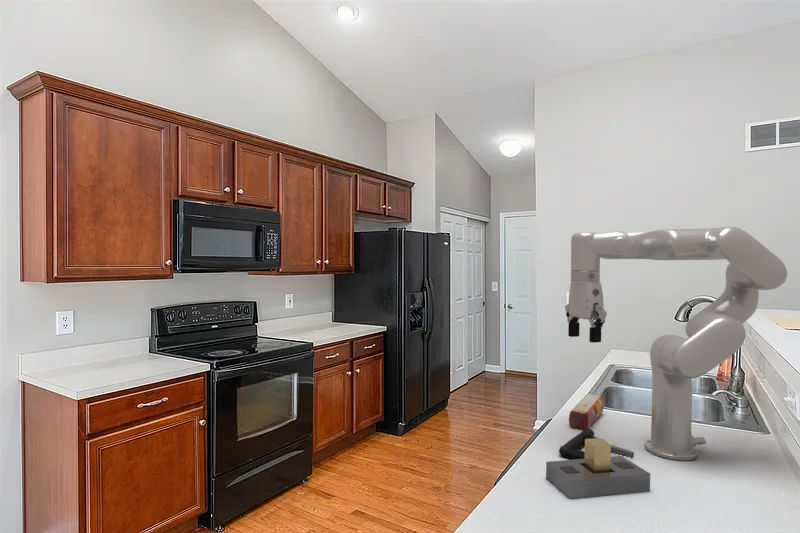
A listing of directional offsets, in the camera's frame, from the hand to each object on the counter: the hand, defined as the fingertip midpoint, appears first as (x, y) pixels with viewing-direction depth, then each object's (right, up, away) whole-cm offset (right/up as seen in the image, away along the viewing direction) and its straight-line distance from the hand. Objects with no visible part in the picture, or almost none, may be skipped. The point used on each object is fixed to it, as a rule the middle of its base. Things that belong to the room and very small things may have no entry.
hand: (584, 339), depth 134 cm
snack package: (+9, -30, +22) cm, 39 cm away
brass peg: (-6, -30, -22) cm, 38 cm away
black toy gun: (+2, -31, -4) cm, 31 cm away
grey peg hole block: (-6, -30, -22) cm, 38 cm away
